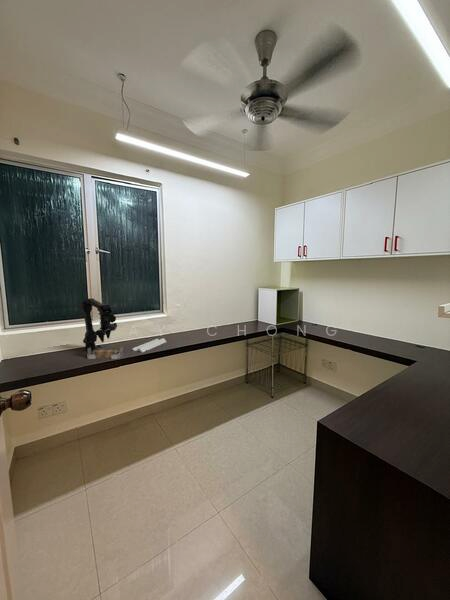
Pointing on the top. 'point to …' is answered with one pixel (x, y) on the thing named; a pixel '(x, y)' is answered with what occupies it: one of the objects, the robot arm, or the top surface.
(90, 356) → the cup brackets
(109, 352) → the rail
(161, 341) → the crown molding
